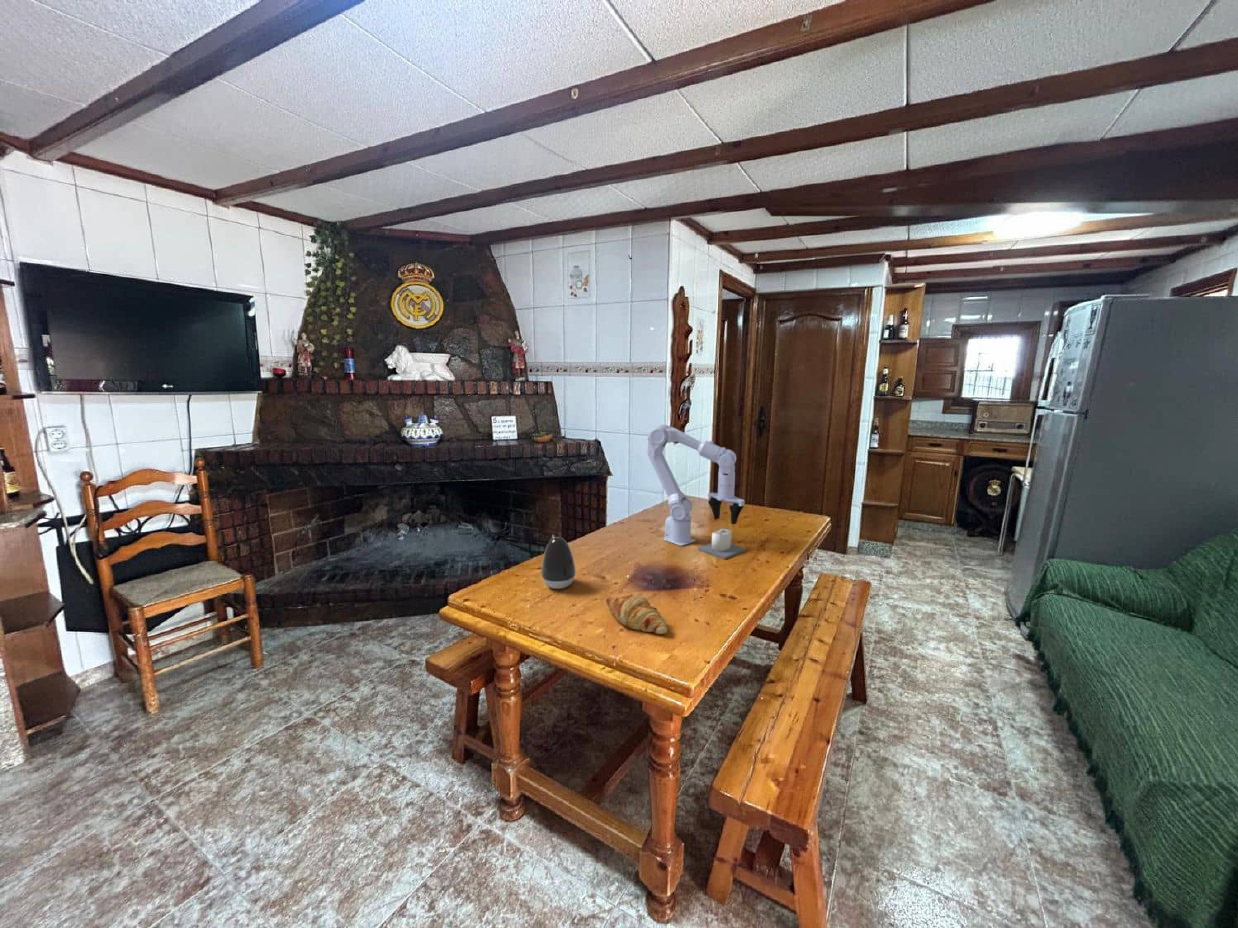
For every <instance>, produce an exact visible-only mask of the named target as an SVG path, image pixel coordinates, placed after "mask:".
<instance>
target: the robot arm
mask: <svg viewBox="0 0 1238 928" xmlns="http://www.w3.org/2000/svg"><path fill="white" fill-rule="evenodd" d="M676 442H677V443H680V444H682V445H684V446H687V447H689V448H690V449H693V450H696V451H697V453H698V456H701V457H702V458H705V459H706V460H709V461H711V462H713V463H715V464H717V465H718V466H719V467H718V474H717V475H718V476H717V477H718V478H717V479H718V481H717V492H708V493H707V494H708V495H707V498H708V499H709V500H708V501H707V502H708V504H709V506H710V508H711V511H712V515H713V519H714V520H718V519H720V517H721V505H722V502H725V503H728V504H731V505H728V506H729V510H730V523H731V525H736V524H737V522H738V519H739V515H740V514H741V511H742V510H743V509H744V507H745V500H744V499H742V498H739V497H737V496H735V485H736V472H735V470H736V467H735V466H736V465H735V464H736V461H737V455H736V453H735V452H734V451H733V450H732V449H728V448H727V449H726V447H724V446H723V447H722V446H719V445H717V444H715V443H714V441H713V440H704V441H701V440H698V439H696V438H694V437H692V436H691V435H689V434H686V433H685V432H684V431H681V430H679V429H677V428H675V427H673V426H669V425H667V424H661V425H658V426H657V427H654V428H653V429H651V430H650V432H649V434H648V436H647V457H648V458H649V460H650V462H651V465H652V466H653V469H654V470H655V473H656V476H657V477H658V479H659V481H660V484H661V485H662V488H663V490H664V491H665V494H666V496H667V498H668V501H667V504H668V506H669V514H670V515H669V516H667V518H666V520H665V522H664V538H663V541H666V542H669V543H672V544H674V545H677V546H679V547H684V546H686V545H688V544H691V543H694V542H696V539H693V538H691V534H692V533H691V531H692V526H691V525H692V516H691V515H690V513H691V511H692V509H693V504H692V501H691V500H689V499H688V498H687V497H686V495H685V493H684V492H682V491H681V489H680V487H679V484H678V482H677V481H676V478H675V476H674V474H673V472H672V470H671V468H670V466H669V464H668V461H667V460H666V457H665V455H664V453H663V452H664V450H665V447H666V445H667V444H669V443H676Z"/></svg>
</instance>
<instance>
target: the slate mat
mask: <svg viewBox="0 0 1238 928" xmlns="http://www.w3.org/2000/svg"><path fill="white" fill-rule="evenodd" d="M697 551H699V552H702V553H706V554H709V555H711V556H714V557H716V558H719V559H721V560H727V559H730V558H733V557H735V556H737V555H740V554H741V553H743V552H746V551H747V548H746V547H743V546H739V545H737V544H736V545H735V544H734V543H733V544H732V543H731V548H729V549H726V550H724V551H721V552H714V551H712V542H709V543H707V544H704V545H702V546H698V547H697Z"/></svg>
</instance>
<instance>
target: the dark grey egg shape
mask: <svg viewBox="0 0 1238 928" xmlns="http://www.w3.org/2000/svg"><path fill="white" fill-rule="evenodd" d="M545 547H546V548H545V551H544V555H543V557H542V558H543V559H542V563H541V577H542V579H543V581H544V583H545V585H546V586H547V587H549V588H551V589H556V590H561V589H565V588H567V587H569V586H570V585H572V583H573V581H574V580H575V576H576V573H577V571H576V570H577V569H576V564H575V559H574V557H573V553H572V550H571V547H570V546H569V544H568V542H567V541H566V540H565V538H562V537H561V536H560V537H559V536H556V535H555V534H552V535H551V539H550V540H549V542H548V544H547V545H546V546H545Z"/></svg>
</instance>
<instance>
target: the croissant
mask: <svg viewBox="0 0 1238 928" xmlns="http://www.w3.org/2000/svg"><path fill="white" fill-rule="evenodd" d="M606 606H607V607H608V609H609V612H610V614H611V615H612V617H613V618H614V620H616V621H617V622H618V623H620V624H621V625H623V626H625V627H627V628H628V629H631V630H637V631H642V632H644V633H645V632H646V633H647V632H649V633H652V632H653V633H654V634H655V635H656V634H657V635H664V634H666V633H667V632H668V626H667V623H666V621H665V619H664V618H662V615H661V612H659V610H658V609H657V608H656V607H653V606H652V605H651V604H650V601H648V600H647V598H645V597H644V596H641V595H638V594H632V593H631V594H630V595H628V596H626V595H625V596H624V595H623V596H621V597H618V596H614V597H611V596H610V597H607V598H606Z"/></svg>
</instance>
